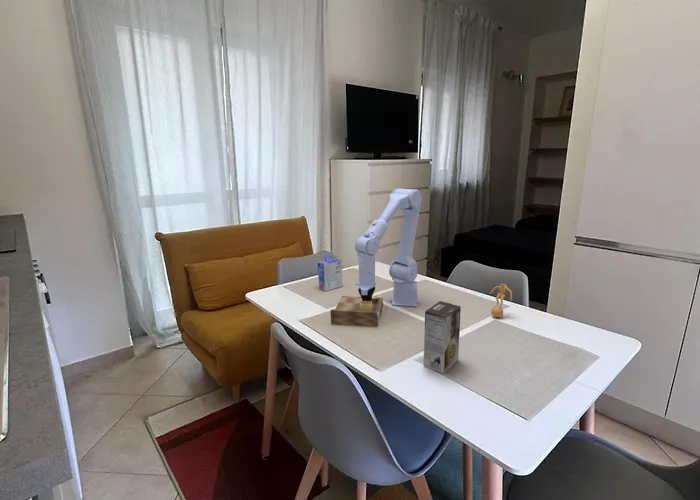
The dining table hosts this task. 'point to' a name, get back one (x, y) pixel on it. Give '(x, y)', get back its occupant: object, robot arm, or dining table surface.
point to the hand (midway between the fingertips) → (367, 307)
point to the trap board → (356, 312)
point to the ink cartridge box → (330, 273)
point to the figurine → (497, 310)
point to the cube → (366, 306)
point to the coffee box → (441, 336)
